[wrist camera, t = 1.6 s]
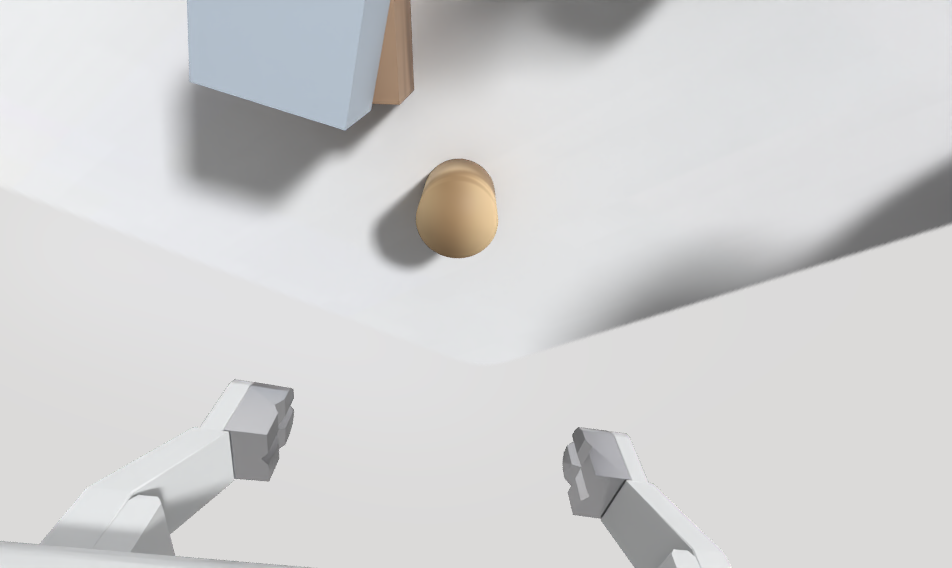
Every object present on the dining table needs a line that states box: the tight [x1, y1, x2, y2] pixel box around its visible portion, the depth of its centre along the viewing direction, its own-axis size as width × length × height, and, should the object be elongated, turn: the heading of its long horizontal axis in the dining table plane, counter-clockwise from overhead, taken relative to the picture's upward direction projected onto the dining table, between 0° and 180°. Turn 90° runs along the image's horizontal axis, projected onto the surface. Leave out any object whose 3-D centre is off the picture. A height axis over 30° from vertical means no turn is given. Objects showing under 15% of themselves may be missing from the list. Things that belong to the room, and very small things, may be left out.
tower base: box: [372, 0, 414, 105], centre depth 22 cm, size 7×7×6 cm
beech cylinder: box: [416, 159, 498, 258], centre depth 28 cm, size 5×5×5 cm
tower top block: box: [187, 0, 390, 130], centre depth 17 cm, size 6×6×5 cm
